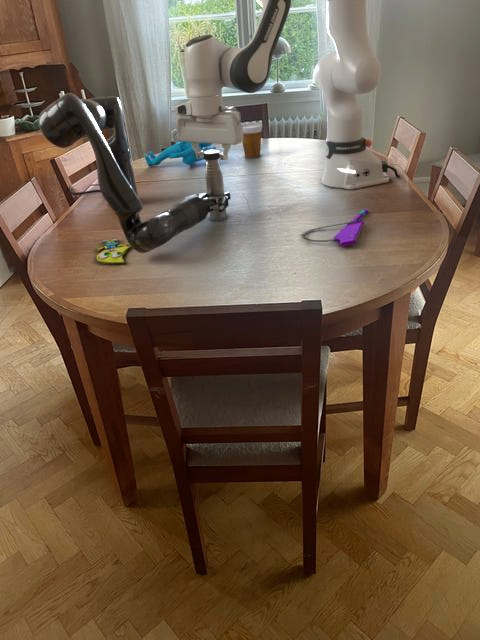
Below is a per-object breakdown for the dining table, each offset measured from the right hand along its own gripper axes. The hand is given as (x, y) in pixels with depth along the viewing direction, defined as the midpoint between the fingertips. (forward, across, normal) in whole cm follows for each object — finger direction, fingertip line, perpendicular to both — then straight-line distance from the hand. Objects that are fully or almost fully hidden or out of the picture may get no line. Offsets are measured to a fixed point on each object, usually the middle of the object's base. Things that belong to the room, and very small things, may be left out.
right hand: (212, 158), depth 136 cm
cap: (-2, 0, 0) cm, 2 cm away
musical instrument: (+17, -37, -3) cm, 41 cm away
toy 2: (+18, +48, -45) cm, 68 cm away
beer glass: (+18, +26, -65) cm, 72 cm away
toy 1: (+18, +13, +32) cm, 39 cm away
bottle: (+18, 0, 0) cm, 18 cm away
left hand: (+11, 0, -3) cm, 11 cm away
